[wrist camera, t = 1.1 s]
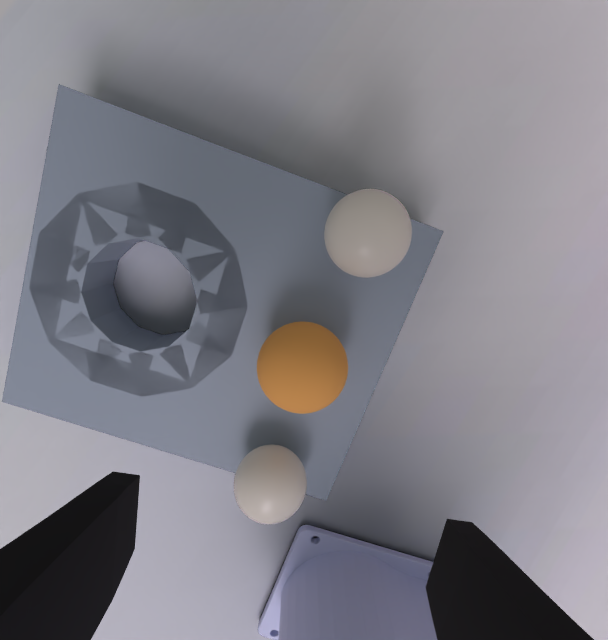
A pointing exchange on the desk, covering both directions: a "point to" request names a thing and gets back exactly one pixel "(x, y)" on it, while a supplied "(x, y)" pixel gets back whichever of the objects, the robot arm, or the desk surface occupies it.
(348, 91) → the desk surface
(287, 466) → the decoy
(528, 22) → the desk surface
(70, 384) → the grey socket plate
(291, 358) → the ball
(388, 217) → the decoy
